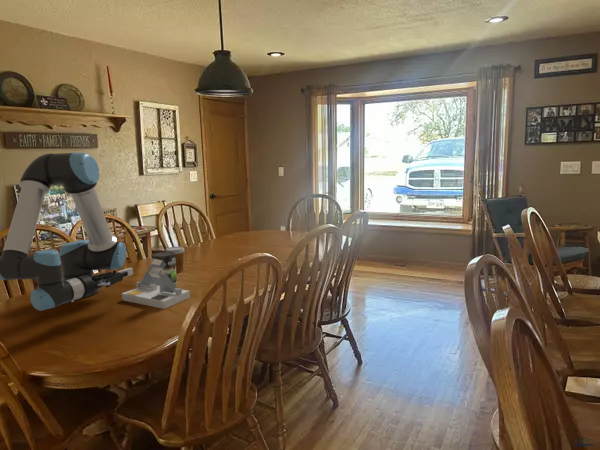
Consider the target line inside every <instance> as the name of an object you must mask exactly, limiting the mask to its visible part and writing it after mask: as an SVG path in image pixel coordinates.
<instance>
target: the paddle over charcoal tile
mask: <svg viewBox="0 0 600 450" xmlns="http://www.w3.org/2000/svg"><path fill="white" fill-rule="evenodd" d="M149 274H150V275H151V276H152V277H153V279H154V280H155V281H156V282H157V284H158V285H159V286H160V287H161V288H162V290H163V291H164V292H169V293H175V289H178V288H177V286H176V284H174V283H173V282H172V281H171V279H170V278H169V277H168V276H167V274H166V273H165V272H164V270H163V269H162V268H155V267H153V268H152V269H151V270H150V272H149Z"/></svg>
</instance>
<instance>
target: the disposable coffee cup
mask: <svg viewBox="0 0 600 450" xmlns="http://www.w3.org/2000/svg"><path fill="white" fill-rule="evenodd" d="M168 251H169V252H175V262H176V274H177V273H182V272H183V271H184V261H185V260H184V255H185V248H184V247H183V246H177V245H176V246H170V247H167V248H165V250H164V252H168Z"/></svg>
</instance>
